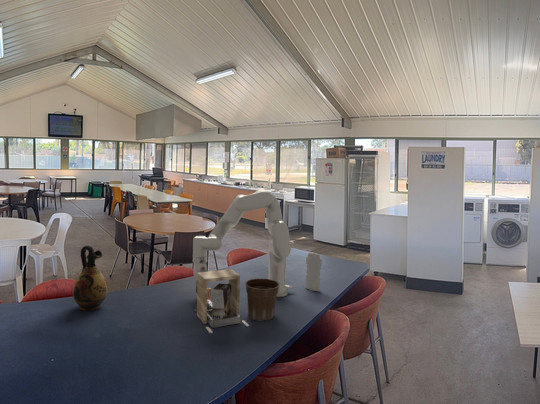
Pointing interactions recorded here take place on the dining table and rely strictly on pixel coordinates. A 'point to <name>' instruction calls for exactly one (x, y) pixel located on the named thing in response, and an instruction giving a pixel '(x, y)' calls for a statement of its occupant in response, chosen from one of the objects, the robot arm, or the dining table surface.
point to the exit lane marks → (212, 332)
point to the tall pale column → (313, 271)
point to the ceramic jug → (90, 282)
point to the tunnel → (211, 277)
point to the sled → (220, 322)
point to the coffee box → (221, 302)
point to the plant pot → (261, 298)
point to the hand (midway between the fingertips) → (199, 292)
